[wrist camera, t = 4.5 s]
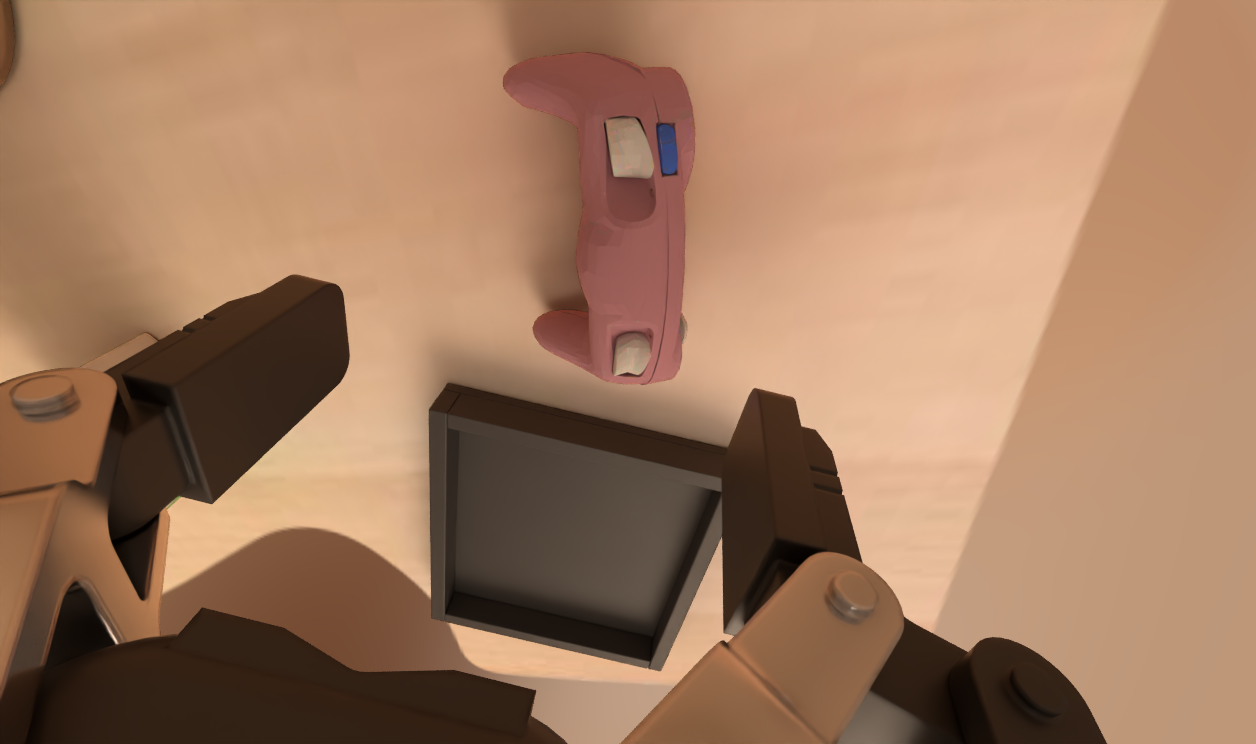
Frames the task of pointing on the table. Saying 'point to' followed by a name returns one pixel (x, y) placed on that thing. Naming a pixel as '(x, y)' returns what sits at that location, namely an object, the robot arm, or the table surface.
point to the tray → (567, 526)
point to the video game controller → (620, 210)
